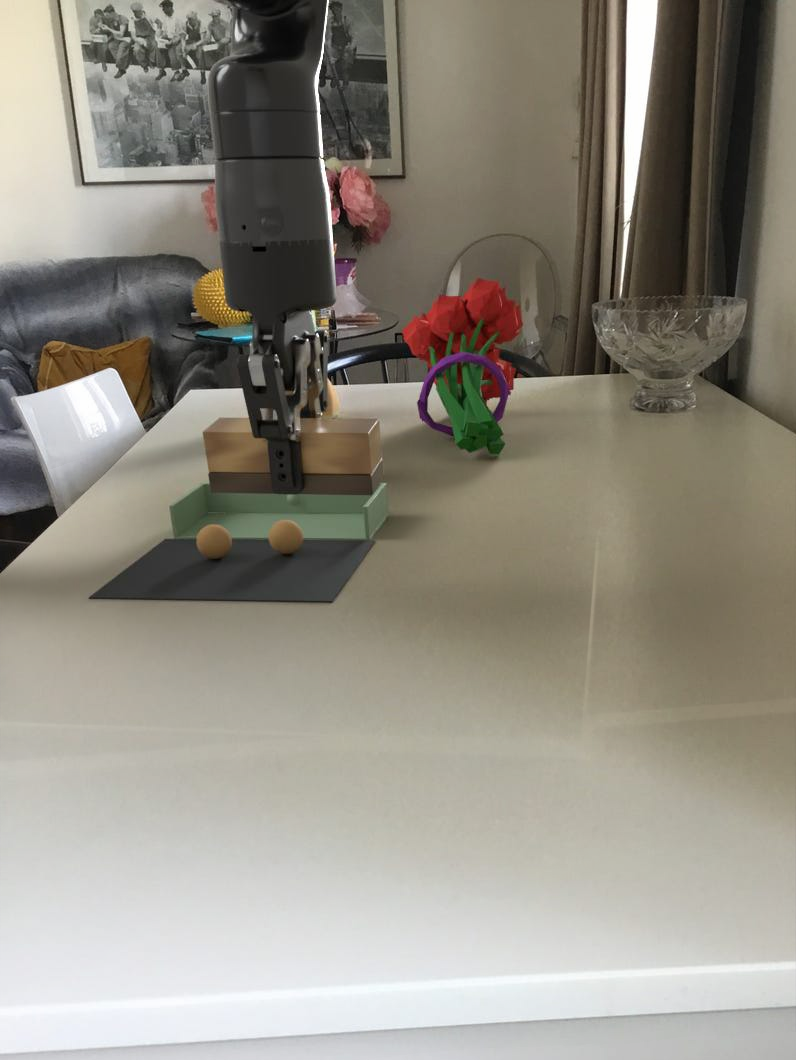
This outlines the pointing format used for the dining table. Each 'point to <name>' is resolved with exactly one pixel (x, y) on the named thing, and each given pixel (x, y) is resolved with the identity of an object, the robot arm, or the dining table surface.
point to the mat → (239, 572)
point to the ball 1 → (214, 541)
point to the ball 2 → (285, 537)
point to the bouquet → (467, 361)
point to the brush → (327, 455)
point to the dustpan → (280, 513)
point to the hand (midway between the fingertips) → (297, 483)
